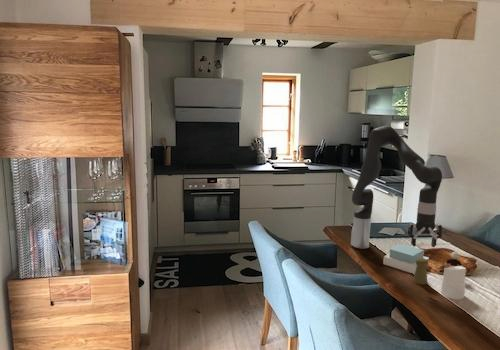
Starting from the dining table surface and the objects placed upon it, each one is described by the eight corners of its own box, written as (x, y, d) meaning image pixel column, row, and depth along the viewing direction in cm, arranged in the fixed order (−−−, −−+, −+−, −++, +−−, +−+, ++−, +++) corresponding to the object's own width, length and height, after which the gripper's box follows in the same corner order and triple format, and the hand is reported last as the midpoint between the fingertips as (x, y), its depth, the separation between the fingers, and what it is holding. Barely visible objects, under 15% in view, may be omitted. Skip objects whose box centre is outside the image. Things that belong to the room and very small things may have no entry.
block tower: (383, 263, 207) (384, 248, 205) (398, 256, 217) (399, 241, 216) (413, 273, 195) (415, 258, 194) (428, 265, 206) (429, 250, 204)
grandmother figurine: (460, 277, 192) (463, 251, 190) (461, 280, 189) (464, 254, 186) (442, 274, 195) (445, 249, 192) (443, 277, 191) (446, 252, 189)
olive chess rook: (410, 278, 189) (412, 256, 187) (423, 278, 190) (425, 256, 188) (417, 284, 183) (419, 261, 181) (429, 284, 184) (432, 261, 182)
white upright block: (451, 300, 169) (454, 273, 167) (436, 291, 178) (438, 265, 175) (469, 298, 172) (472, 271, 169) (453, 288, 180) (455, 263, 178)
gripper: (413, 213, 177) (410, 248, 180) (446, 214, 177) (442, 249, 180) (407, 209, 185) (404, 243, 188) (439, 209, 184) (436, 243, 187)
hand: (423, 246), depth 184 cm, fingers open, 8 cm apart
